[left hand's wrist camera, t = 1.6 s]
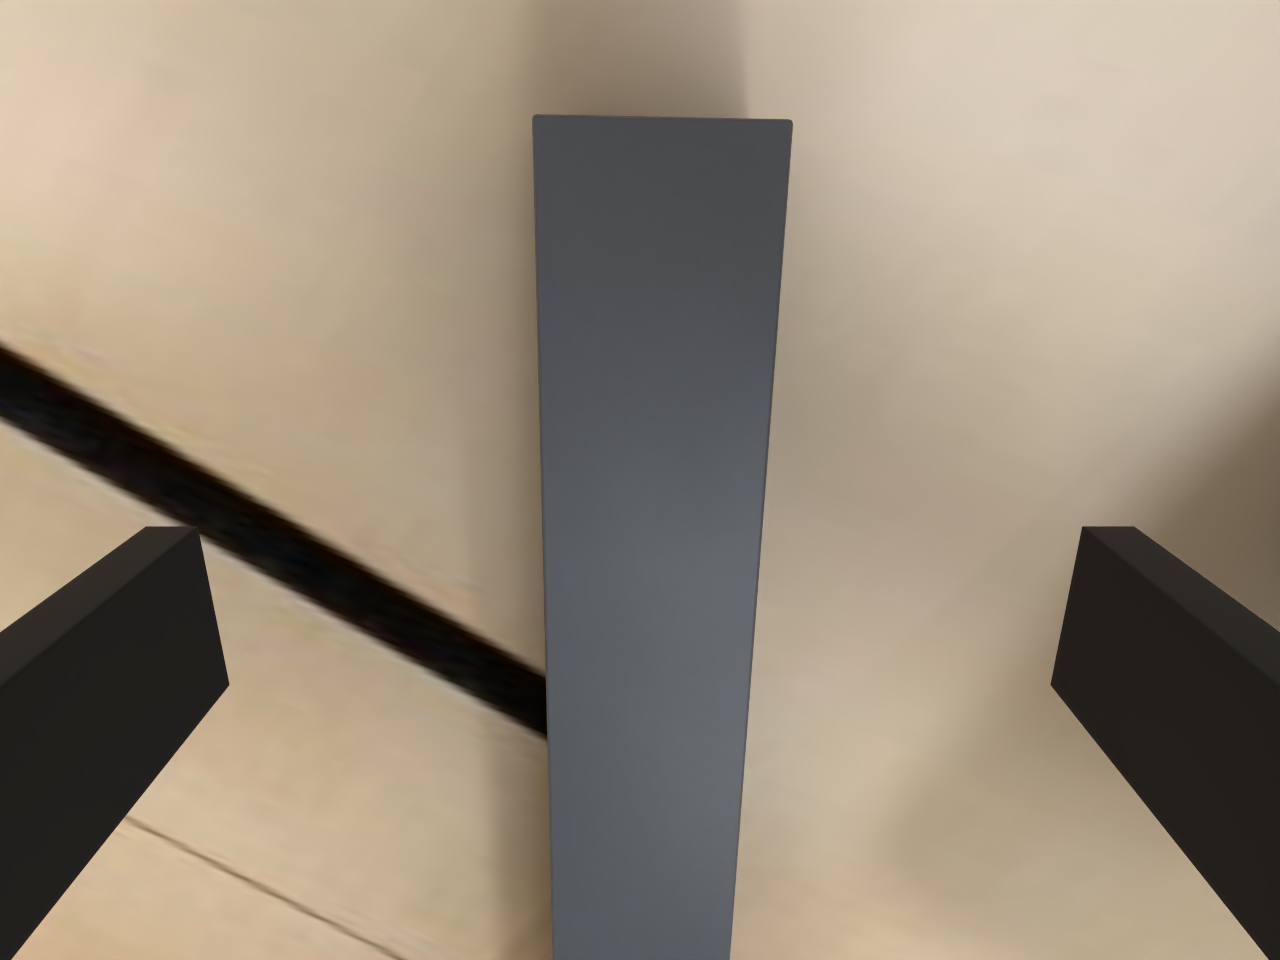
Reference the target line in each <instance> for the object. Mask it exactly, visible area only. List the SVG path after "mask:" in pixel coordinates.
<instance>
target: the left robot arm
mask: <svg viewBox="0 0 1280 960" xmlns="http://www.w3.org/2000/svg"><path fill="white" fill-rule="evenodd" d="M228 686H229V680H228V675H227V670H226V665H225V660H224V655H223V650H222V645H221V640H220V635H219V630H218V625H217V620H216V615H215V611H214V606H213V601H212V596H211V591H210V586H209V581H208V576H207V571H206V566H205V561H204V556H203V551H202V546H201V541H200V536H199V531H198V527H145V528H143V529H142V530H141V531H139V532H138V533H136V534H135V535H134V536H132V537H131V538H130V539H128V540H127V541H125V542H124V543H123V544H121V545H120V546H119V547H117V548H116V549H114V550H113V551H112V552H110V553H109V554H108V555H106V556H105V557H103V558H102V559H101V560H99V561H98V562H96V563H95V564H94V565H92V566H91V567H90V568H88V569H87V570H85V571H84V572H83V573H81V574H80V575H79V576H77V577H76V578H74V579H73V580H72V581H70V582H69V583H68V584H66V585H65V586H63V587H62V588H61V589H59V590H58V591H57V592H55V593H54V594H52V595H51V596H50V597H48V598H47V599H45V600H44V601H43V602H41V603H40V604H39V605H37V606H36V607H34V608H33V609H32V610H30V611H29V612H28V613H26V614H25V615H23V616H22V617H21V618H19V619H18V620H17V621H15V622H14V623H12V624H11V625H10V626H8V627H7V628H6V629H4V630H3V631H1V632H0V960H11V959H12V958H13V957H14V955H15V954H16V953H17V952H18V950H19V949H20V948H21V947H22V945H23V944H24V943H25V942H26V940H27V939H28V938H29V937H30V935H31V934H32V933H33V931H34V930H35V929H36V928H37V926H38V925H39V924H40V923H41V921H42V920H43V919H44V918H45V916H46V915H47V914H48V913H49V911H50V910H51V909H52V908H53V906H54V905H55V904H56V903H57V901H58V900H59V899H60V897H61V896H62V895H63V894H64V892H65V891H66V890H67V889H68V887H69V886H70V885H71V884H72V882H73V881H74V880H75V879H76V877H77V876H78V875H79V874H80V872H81V871H82V870H83V869H84V867H85V866H86V865H87V864H88V862H89V861H90V860H91V858H92V857H93V856H94V855H95V853H96V852H97V851H98V850H99V848H100V847H101V846H102V845H103V843H104V842H105V841H106V840H107V838H108V837H109V836H110V835H111V833H112V832H113V831H114V830H115V828H116V827H117V826H118V824H119V823H120V822H121V821H122V819H123V818H124V817H125V816H126V814H127V813H128V812H129V811H130V809H131V808H132V807H133V806H134V804H135V803H136V802H137V801H138V799H139V798H140V797H141V796H142V794H143V793H144V792H145V791H146V789H147V788H148V787H149V785H150V784H151V783H152V782H153V780H154V779H155V778H156V777H157V775H158V774H159V773H160V772H161V770H162V769H163V768H164V767H165V765H166V764H167V763H168V762H169V760H170V759H171V758H172V757H173V755H174V754H175V753H176V751H177V750H178V749H179V748H180V746H181V745H182V744H183V743H184V741H185V740H186V739H187V738H188V736H189V735H190V734H191V733H192V731H193V730H194V729H195V728H196V726H197V725H198V724H199V723H200V721H201V720H202V719H203V718H204V716H205V715H206V714H207V712H208V711H209V710H210V709H211V707H212V706H213V705H214V704H215V702H216V701H217V700H218V699H219V697H220V696H221V695H222V694H223V692H224V691H225V690H226V689H227V687H228ZM1051 686H1052V687H1053V689H1054V690H1055V691H1056V692H1057V694H1058V695H1059V696H1060V697H1061V699H1062V700H1063V701H1064V702H1065V704H1066V705H1067V706H1068V707H1069V709H1070V710H1071V711H1072V712H1073V714H1074V715H1075V716H1076V718H1077V719H1078V720H1079V721H1080V723H1081V724H1082V725H1083V726H1084V728H1085V729H1086V730H1087V731H1088V733H1089V734H1090V735H1091V736H1092V738H1093V739H1094V740H1095V741H1096V743H1097V744H1098V745H1099V746H1100V748H1101V749H1102V750H1103V751H1104V753H1105V754H1106V755H1107V757H1108V758H1109V759H1110V760H1111V762H1112V763H1113V764H1114V765H1115V767H1116V768H1117V769H1118V770H1119V772H1120V773H1121V774H1122V775H1123V777H1124V778H1125V779H1126V780H1127V782H1128V783H1129V784H1130V785H1131V787H1132V788H1133V789H1134V791H1135V792H1136V793H1137V794H1138V796H1139V797H1140V798H1141V799H1142V801H1143V802H1144V803H1145V804H1146V806H1147V807H1148V808H1149V809H1150V811H1151V812H1152V813H1153V814H1154V816H1155V817H1156V818H1157V819H1158V821H1159V822H1160V823H1161V824H1162V826H1163V827H1164V828H1165V830H1166V831H1167V832H1168V833H1169V835H1170V836H1171V837H1172V838H1173V840H1174V841H1175V842H1176V843H1177V845H1178V846H1179V847H1180V848H1181V850H1182V851H1183V852H1184V853H1185V855H1186V856H1187V857H1188V858H1189V860H1190V861H1191V862H1192V864H1193V865H1194V866H1195V867H1196V869H1197V870H1198V871H1199V872H1200V874H1201V875H1202V876H1203V877H1204V879H1205V880H1206V881H1207V882H1208V884H1209V885H1210V886H1211V887H1212V889H1213V890H1214V891H1215V892H1216V894H1217V895H1218V896H1219V897H1220V899H1221V900H1222V901H1223V903H1224V904H1225V905H1226V906H1227V908H1228V909H1229V910H1230V911H1231V913H1232V914H1233V915H1234V916H1235V918H1236V919H1237V920H1238V921H1239V923H1240V924H1241V925H1242V926H1243V928H1244V929H1245V930H1246V931H1247V933H1248V934H1249V935H1250V937H1251V938H1252V939H1253V940H1254V942H1255V943H1256V944H1257V945H1258V947H1259V948H1260V949H1261V950H1262V952H1263V953H1264V954H1265V955H1266V957H1267V958H1268V959H1269V960H1280V632H1279V631H1277V630H1276V629H1274V628H1273V627H1272V626H1270V625H1269V624H1268V623H1266V622H1265V621H1263V620H1262V619H1261V618H1259V617H1258V616H1257V615H1255V614H1254V613H1252V612H1251V611H1250V610H1248V609H1247V608H1246V607H1244V606H1243V605H1241V604H1240V603H1239V602H1237V601H1236V600H1235V599H1233V598H1232V597H1230V596H1229V595H1228V594H1226V593H1225V592H1223V591H1222V590H1221V589H1219V588H1218V587H1217V586H1215V585H1214V584H1212V583H1211V582H1210V581H1208V580H1207V579H1206V578H1204V577H1203V576H1201V575H1200V574H1199V573H1197V572H1196V571H1195V570H1193V569H1192V568H1190V567H1189V566H1188V565H1186V564H1185V563H1184V562H1182V561H1181V560H1179V559H1178V558H1177V557H1175V556H1174V555H1172V554H1171V553H1170V552H1168V551H1167V550H1166V549H1164V548H1163V547H1161V546H1160V545H1159V544H1157V543H1156V542H1155V541H1153V540H1152V539H1150V538H1149V537H1148V536H1146V535H1145V534H1144V533H1142V532H1141V531H1139V530H1138V529H1137V528H1135V527H1082V531H1081V536H1080V541H1079V546H1078V551H1077V556H1076V561H1075V566H1074V571H1073V576H1072V581H1071V586H1070V591H1069V596H1068V601H1067V606H1066V611H1065V615H1064V620H1063V625H1062V630H1061V635H1060V640H1059V645H1058V650H1057V655H1056V660H1055V665H1054V670H1053V675H1052V680H1051Z"/></svg>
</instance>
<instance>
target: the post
mask: <svg viewBox="0 0 1280 960" xmlns="http://www.w3.org/2000/svg"><path fill="white" fill-rule="evenodd" d="M532 128H533V169H534V210H535V250H536V291H537V331H538V372H539V413H540V453H541V494H542V534H543V575H544V616H545V656H546V697H547V738H548V778H549V819H550V859H551V900H552V941H553V960H730V948H731V934H732V921H733V908H734V895H735V882H736V869H737V855H738V842H739V829H740V816H741V803H742V789H743V776H744V763H745V750H746V737H747V723H748V710H749V697H750V684H751V671H752V657H753V644H754V631H755V618H756V605H757V591H758V578H759V565H760V552H761V539H762V525H763V512H764V499H765V486H766V473H767V459H768V446H769V433H770V420H771V407H772V393H773V380H774V367H775V354H776V341H777V328H778V314H779V301H780V288H781V275H782V262H783V248H784V235H785V222H786V209H787V196H788V182H789V169H790V156H791V143H792V130H793V123H792V121H791V120H789V119H739V118H689V117H640V116H590V115H540V114H536V115H534V116H533V118H532Z"/></svg>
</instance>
